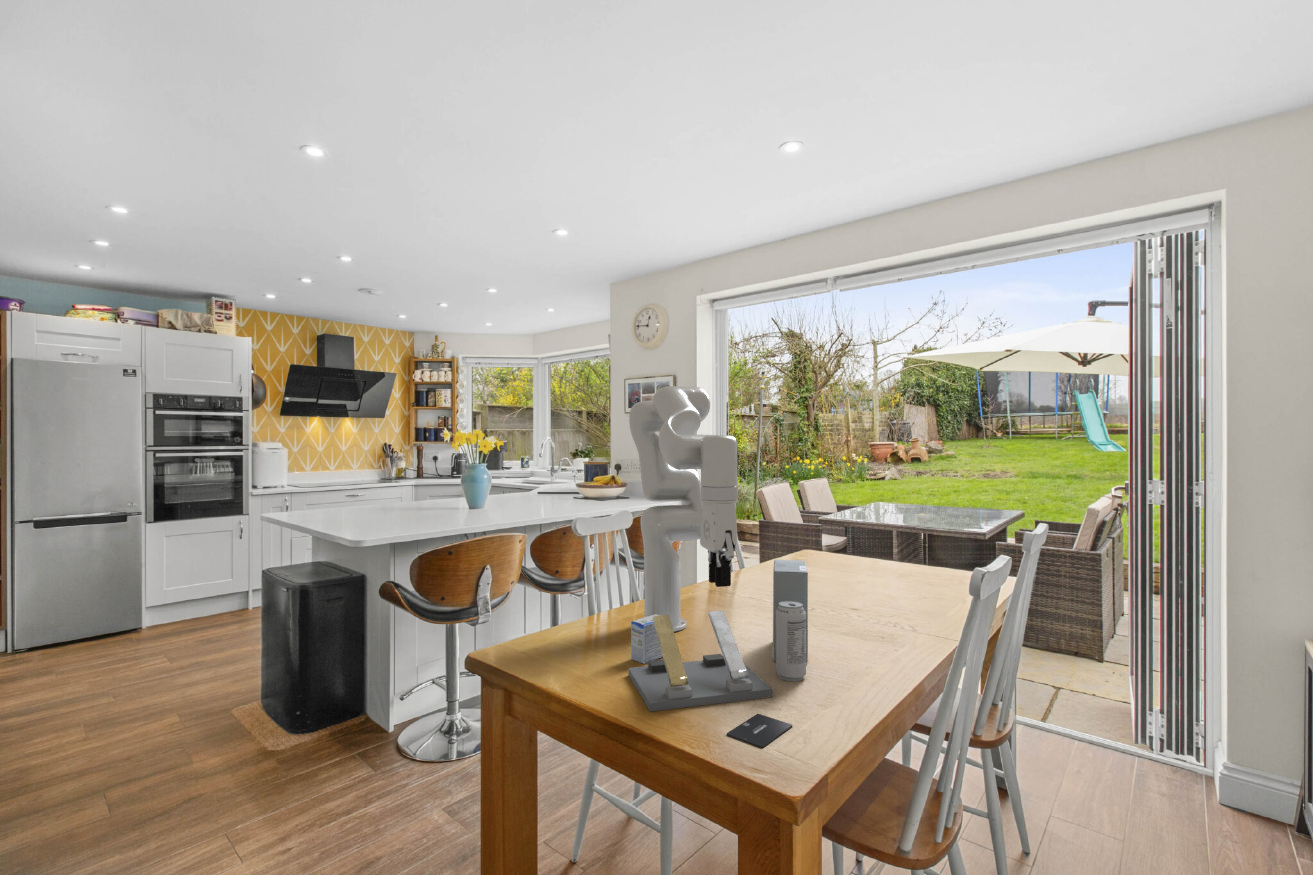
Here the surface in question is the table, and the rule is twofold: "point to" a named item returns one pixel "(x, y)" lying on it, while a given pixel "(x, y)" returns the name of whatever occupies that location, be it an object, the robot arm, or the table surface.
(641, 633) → the medicine box
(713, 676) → the board
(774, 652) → the hard drive box
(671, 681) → the brass strap
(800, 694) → the table surface
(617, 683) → the table surface
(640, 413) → the robot arm
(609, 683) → the table surface
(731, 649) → the steel strap
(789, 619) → the energy drink can
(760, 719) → the solid state drive
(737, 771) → the table surface
